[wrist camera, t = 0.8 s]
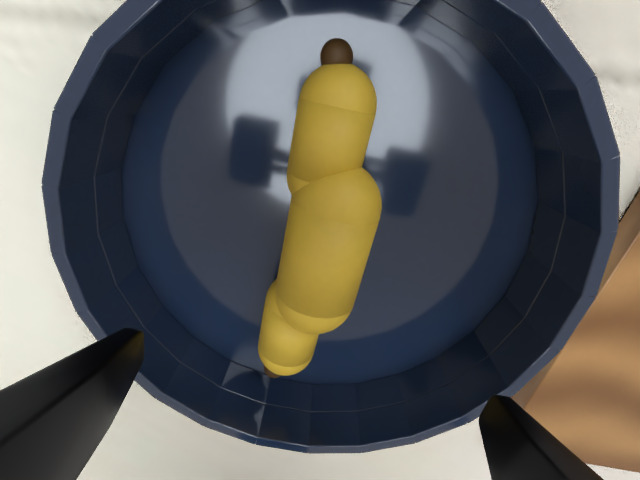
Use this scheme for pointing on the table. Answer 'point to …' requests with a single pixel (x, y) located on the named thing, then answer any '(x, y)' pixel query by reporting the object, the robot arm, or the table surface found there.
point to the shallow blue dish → (274, 201)
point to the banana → (323, 213)
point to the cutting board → (599, 367)
